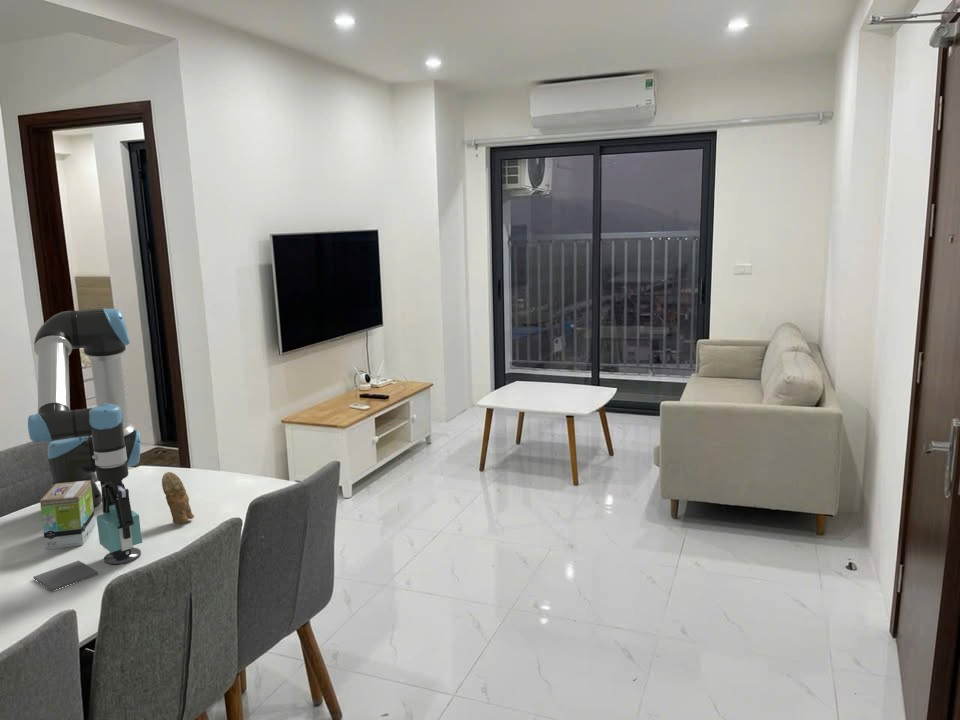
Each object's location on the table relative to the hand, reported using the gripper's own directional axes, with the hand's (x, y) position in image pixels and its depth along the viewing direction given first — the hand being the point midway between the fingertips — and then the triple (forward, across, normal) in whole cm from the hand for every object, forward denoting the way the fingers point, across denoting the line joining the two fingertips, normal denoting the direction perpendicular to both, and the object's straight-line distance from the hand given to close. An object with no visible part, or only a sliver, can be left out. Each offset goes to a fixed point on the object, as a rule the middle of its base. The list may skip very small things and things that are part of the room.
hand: (121, 544), depth 191 cm
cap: (0, 0, 0) cm, 0 cm away
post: (+4, 0, 0) cm, 4 cm away
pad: (+4, +1, -14) cm, 15 cm away
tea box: (+4, -26, -5) cm, 26 cm away
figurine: (+4, -13, +22) cm, 26 cm away
